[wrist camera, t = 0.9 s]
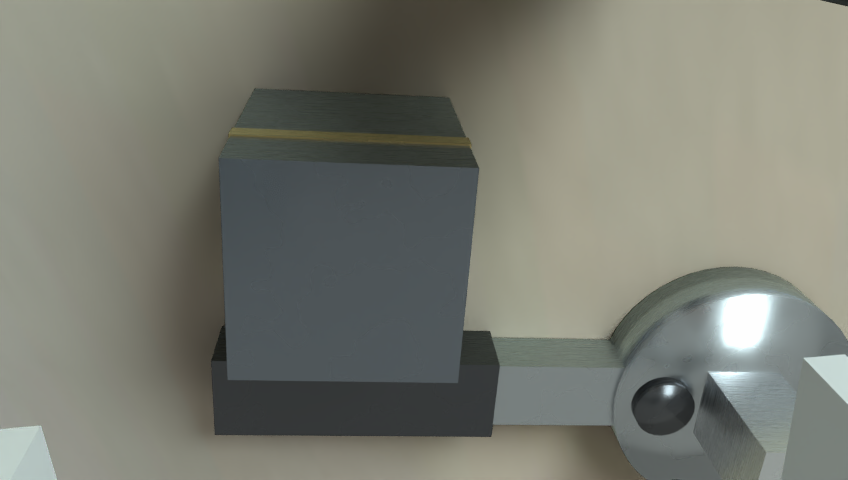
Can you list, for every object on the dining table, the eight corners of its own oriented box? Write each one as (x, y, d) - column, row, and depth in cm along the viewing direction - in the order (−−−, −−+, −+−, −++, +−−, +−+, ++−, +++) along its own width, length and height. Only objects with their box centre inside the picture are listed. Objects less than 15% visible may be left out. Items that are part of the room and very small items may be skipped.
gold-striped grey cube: (257, 265, 31) (226, 381, 24) (253, 87, 28) (216, 156, 21) (436, 270, 32) (459, 384, 25) (450, 96, 29) (480, 166, 22)
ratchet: (227, 458, 35) (195, 598, 28) (219, 252, 31) (179, 356, 24) (790, 461, 37) (887, 589, 30) (850, 270, 33) (977, 368, 26)
